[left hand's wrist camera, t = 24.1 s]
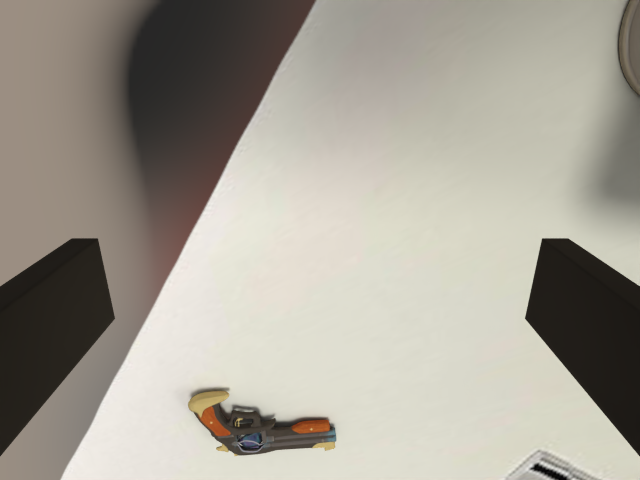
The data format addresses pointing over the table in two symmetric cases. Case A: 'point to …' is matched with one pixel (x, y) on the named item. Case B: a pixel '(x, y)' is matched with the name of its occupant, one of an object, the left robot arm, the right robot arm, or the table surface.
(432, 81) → the table surface
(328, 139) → the table surface
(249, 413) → the toy gun
